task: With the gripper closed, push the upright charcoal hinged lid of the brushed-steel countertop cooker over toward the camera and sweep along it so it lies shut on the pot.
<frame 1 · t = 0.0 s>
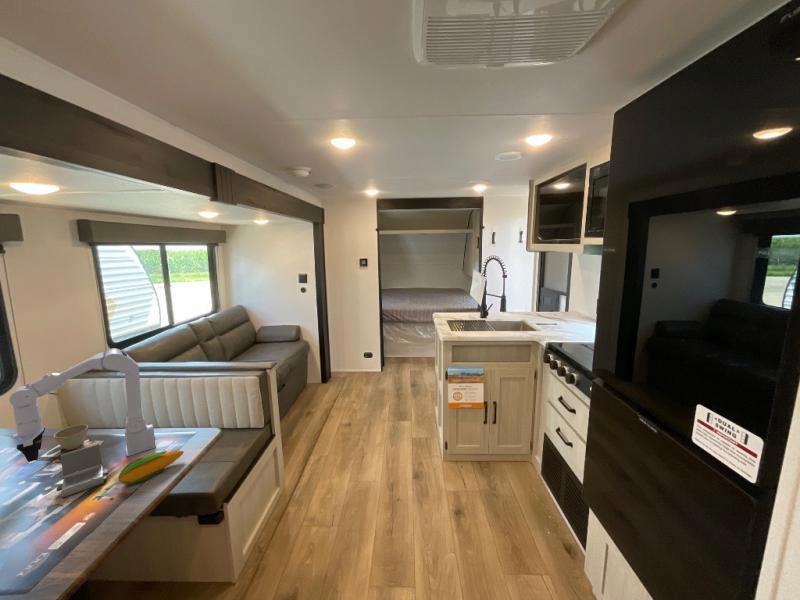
hand: (34, 455, 113), 10 cm above the table, fingers open, 7 cm apart
lid: (82, 460, 116), point 7 cm above the table, hinge at 97.0°
corn: (153, 473, 120), on the table
cooker: (84, 485, 113), on the table
flower pot: (73, 446, 135), on the table
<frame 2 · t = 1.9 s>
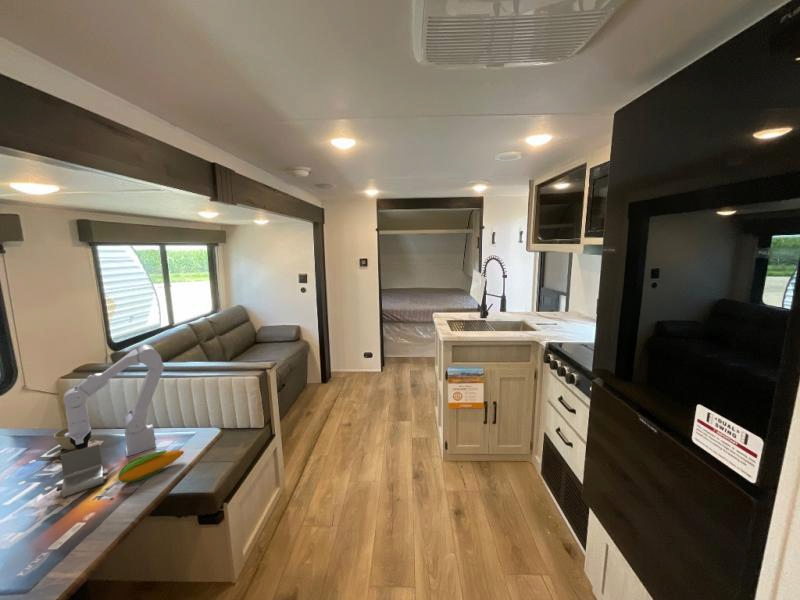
hand: (83, 452, 122), 6 cm above the table, fingers closed
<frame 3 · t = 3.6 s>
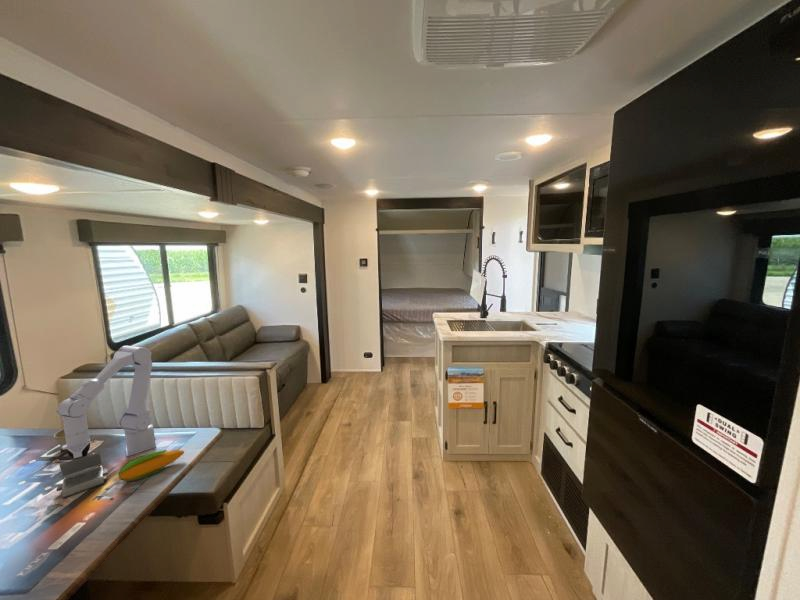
hand: (81, 465, 115), 6 cm above the table, fingers closed, pressing on lid
lid: (81, 463, 114), point 7 cm above the table, hinge at 57.2°, touching gripper
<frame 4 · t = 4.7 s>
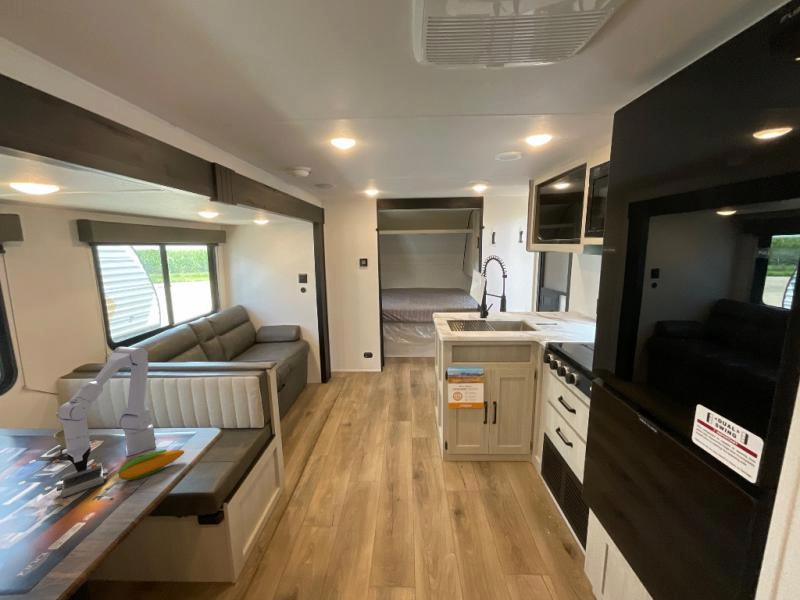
hand: (82, 470, 113), 5 cm above the table, fingers closed, pressing on lid
lid: (82, 470, 113), point 5 cm above the table, hinge at 20.4°, touching gripper
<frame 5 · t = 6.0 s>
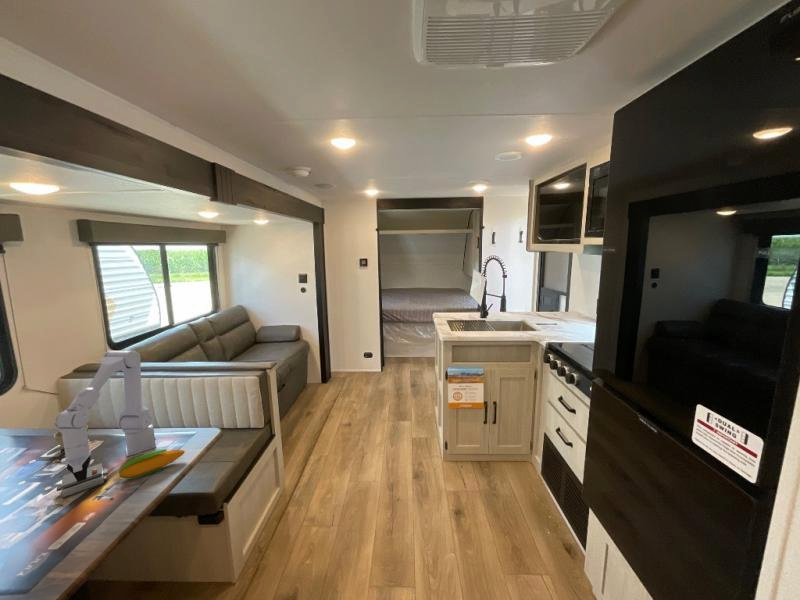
hand: (81, 479, 110), 5 cm above the table, fingers closed, pressing on lid
lid: (82, 473, 113), point 4 cm above the table, hinge at 3.1°, touching gripper
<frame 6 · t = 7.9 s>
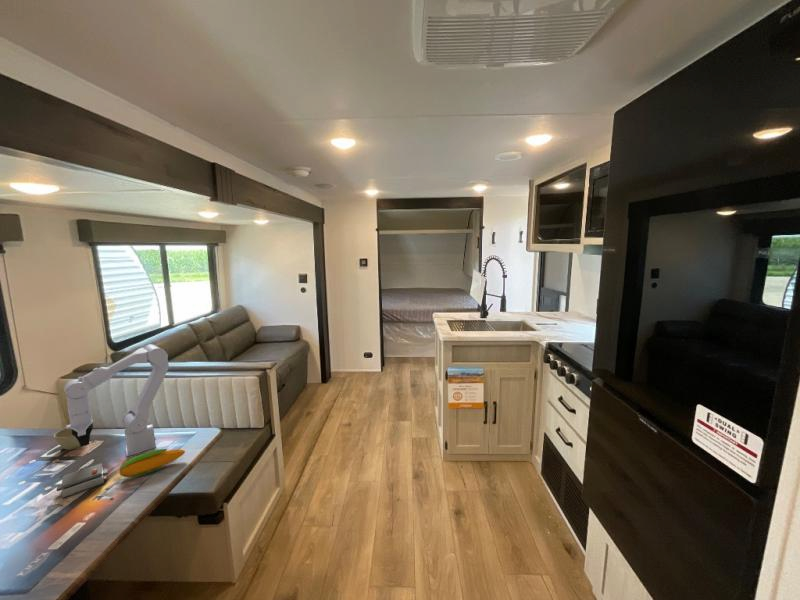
hand: (85, 444, 120), 10 cm above the table, fingers closed
lid: (82, 473, 113), point 4 cm above the table, hinge at 3.0°
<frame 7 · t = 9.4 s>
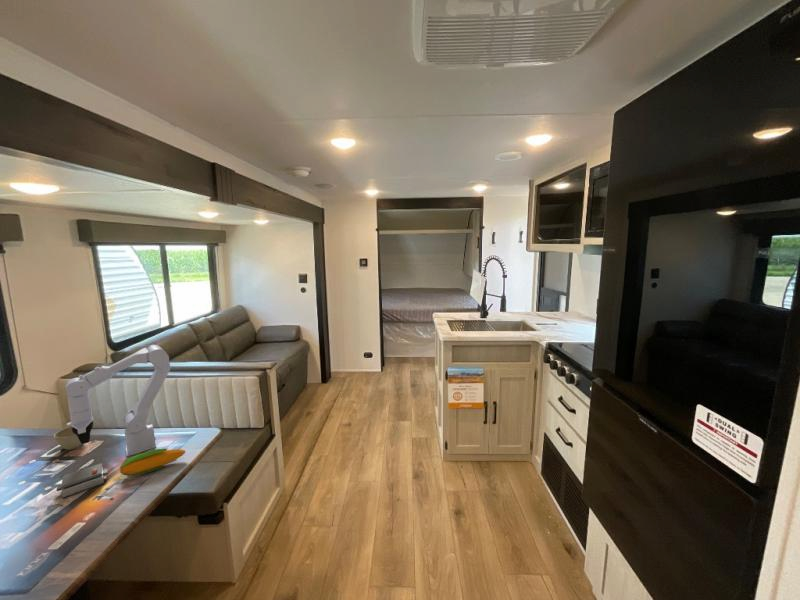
hand: (85, 442, 122), 10 cm above the table, fingers closed
at the end: lid at +3° (first picture: +97°) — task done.
